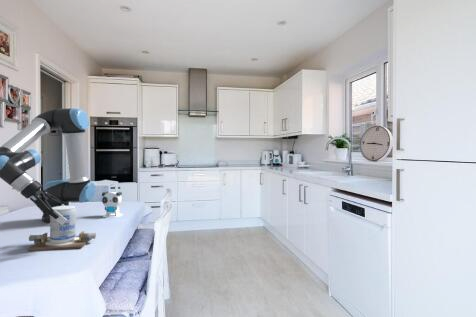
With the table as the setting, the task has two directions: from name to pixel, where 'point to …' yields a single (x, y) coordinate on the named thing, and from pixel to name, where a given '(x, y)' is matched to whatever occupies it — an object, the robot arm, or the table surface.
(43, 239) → the shaft board
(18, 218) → the table surface
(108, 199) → the panda figurine
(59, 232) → the supplement tub
